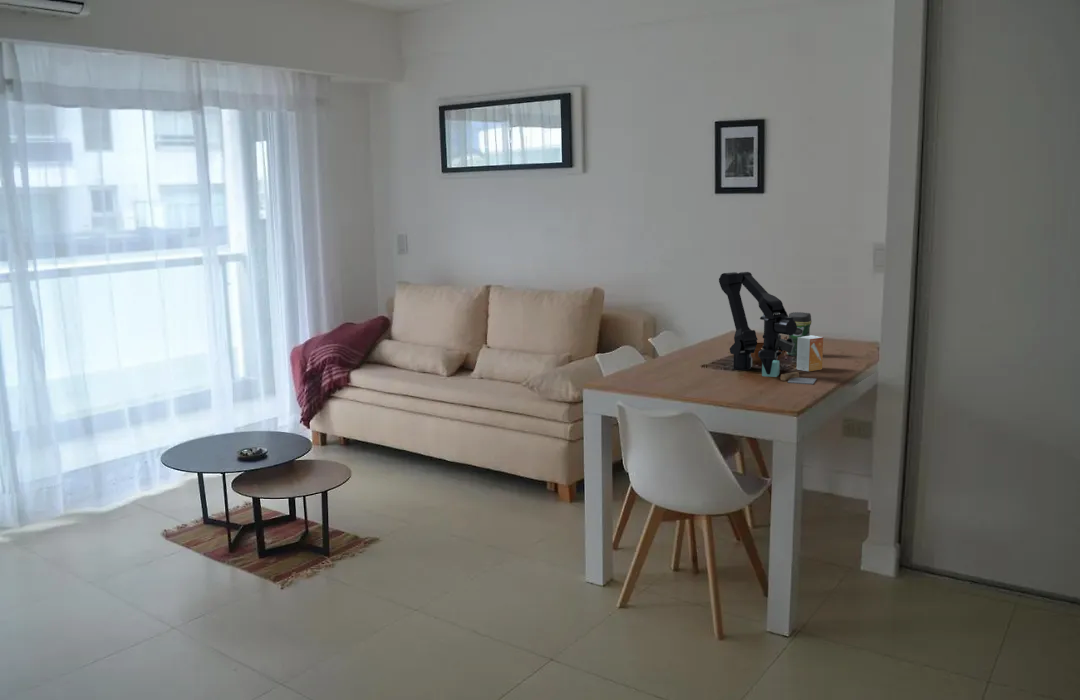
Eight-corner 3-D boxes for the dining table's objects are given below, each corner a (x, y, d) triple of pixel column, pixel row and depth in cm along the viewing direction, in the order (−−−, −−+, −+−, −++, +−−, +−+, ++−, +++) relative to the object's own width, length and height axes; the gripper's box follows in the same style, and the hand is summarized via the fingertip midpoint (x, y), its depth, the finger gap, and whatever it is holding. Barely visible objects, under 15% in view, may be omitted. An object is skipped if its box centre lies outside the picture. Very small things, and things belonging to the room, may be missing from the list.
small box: (808, 372, 349) (809, 338, 347) (796, 369, 354) (797, 337, 352) (822, 369, 353) (823, 336, 351) (809, 367, 358) (810, 334, 356)
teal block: (761, 376, 343) (762, 362, 342) (764, 373, 348) (765, 359, 347) (776, 377, 341) (776, 363, 340) (779, 374, 346) (779, 360, 345)
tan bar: (784, 380, 334) (784, 375, 334) (780, 379, 336) (780, 374, 335) (798, 377, 338) (799, 372, 338) (794, 377, 340) (794, 371, 340)
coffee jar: (812, 354, 385) (813, 311, 382) (807, 357, 378) (809, 314, 375) (789, 353, 390) (791, 310, 387) (784, 356, 383) (786, 313, 380)
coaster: (787, 382, 330) (787, 381, 330) (791, 378, 338) (791, 377, 338) (812, 384, 326) (812, 383, 326) (816, 379, 334) (816, 378, 334)
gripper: (788, 336, 330) (787, 378, 333) (797, 329, 346) (796, 369, 349) (758, 335, 335) (757, 376, 337) (768, 328, 351) (767, 367, 354)
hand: (770, 372), depth 344 cm, fingers open, 8 cm apart
